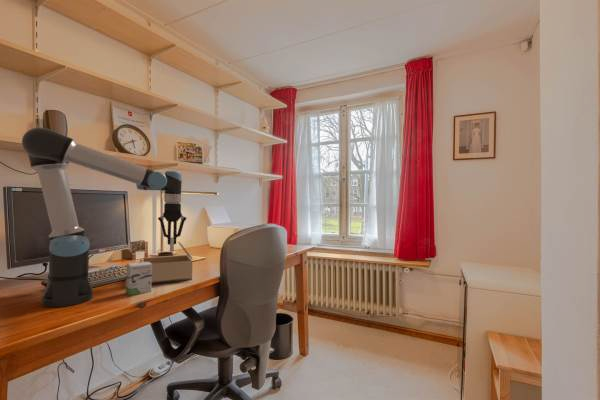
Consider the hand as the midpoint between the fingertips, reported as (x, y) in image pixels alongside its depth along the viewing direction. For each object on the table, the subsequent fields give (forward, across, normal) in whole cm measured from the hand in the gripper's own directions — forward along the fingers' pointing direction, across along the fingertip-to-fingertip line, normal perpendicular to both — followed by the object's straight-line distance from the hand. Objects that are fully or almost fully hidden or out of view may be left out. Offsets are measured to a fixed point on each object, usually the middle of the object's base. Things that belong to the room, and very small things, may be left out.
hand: (171, 251), depth 142 cm
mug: (+13, 0, +15) cm, 20 cm away
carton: (+13, -4, 0) cm, 14 cm away
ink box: (+13, -14, -18) cm, 26 cm away
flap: (+4, +9, 0) cm, 9 cm away
